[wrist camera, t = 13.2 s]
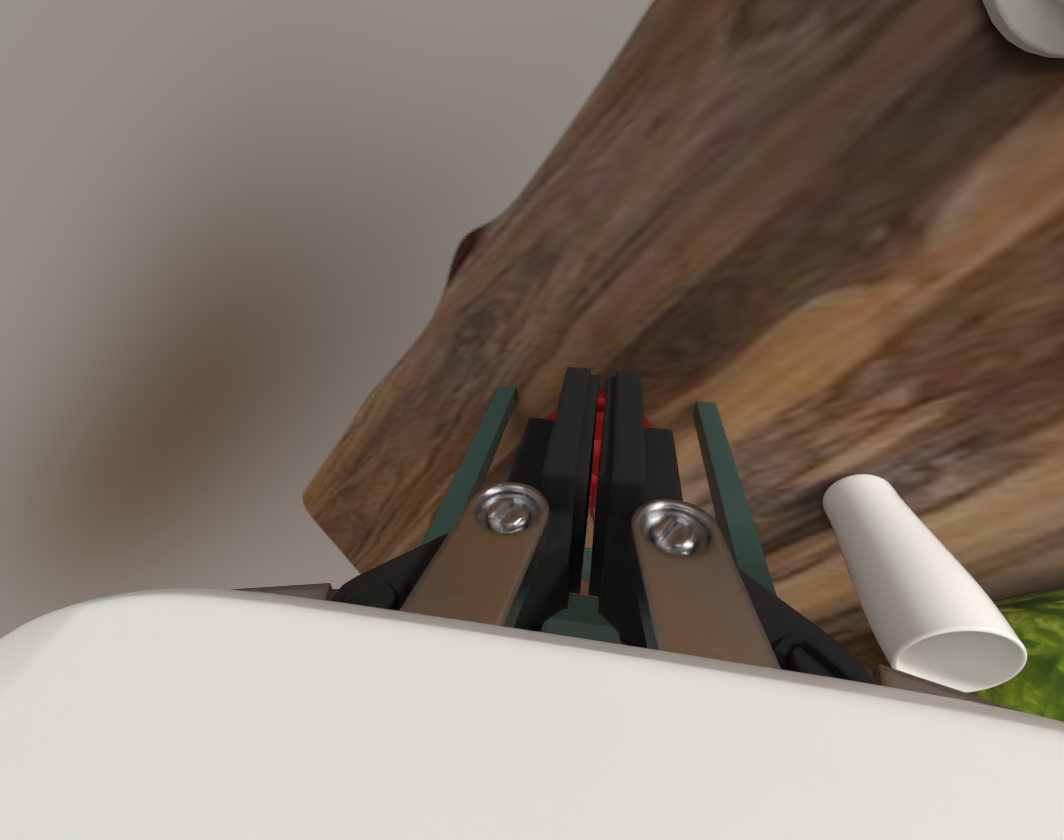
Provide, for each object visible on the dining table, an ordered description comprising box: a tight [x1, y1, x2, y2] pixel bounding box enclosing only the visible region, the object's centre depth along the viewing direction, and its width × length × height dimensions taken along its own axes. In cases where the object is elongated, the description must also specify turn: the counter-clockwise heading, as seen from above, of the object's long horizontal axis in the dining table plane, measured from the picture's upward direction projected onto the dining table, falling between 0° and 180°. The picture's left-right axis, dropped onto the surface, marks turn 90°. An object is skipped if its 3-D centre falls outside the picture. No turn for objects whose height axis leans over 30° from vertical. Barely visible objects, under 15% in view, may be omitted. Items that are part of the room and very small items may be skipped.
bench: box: [422, 387, 776, 643], centre depth 35 cm, size 20×18×22 cm
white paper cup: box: [822, 474, 1027, 693], centre depth 34 cm, size 7×7×15 cm
